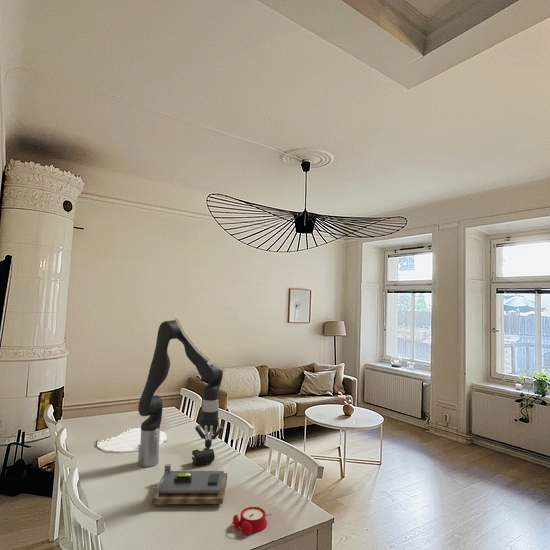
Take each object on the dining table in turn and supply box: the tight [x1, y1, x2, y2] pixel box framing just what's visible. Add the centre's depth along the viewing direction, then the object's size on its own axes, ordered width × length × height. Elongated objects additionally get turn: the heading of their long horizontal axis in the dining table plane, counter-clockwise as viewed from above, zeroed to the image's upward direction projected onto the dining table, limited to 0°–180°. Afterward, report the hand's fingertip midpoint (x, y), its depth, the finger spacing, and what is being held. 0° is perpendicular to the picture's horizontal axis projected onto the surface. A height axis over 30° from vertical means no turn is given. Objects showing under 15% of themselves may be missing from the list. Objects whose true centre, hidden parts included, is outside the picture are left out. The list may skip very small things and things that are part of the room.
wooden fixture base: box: [150, 463, 228, 507], centre depth 162 cm, size 28×23×8 cm
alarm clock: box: [230, 506, 272, 536], centre depth 139 cm, size 10×6×15 cm
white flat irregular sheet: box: [96, 427, 168, 454], centre depth 223 cm, size 40×39×3 cm
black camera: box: [191, 447, 215, 467], centre depth 193 cm, size 10×7×7 cm
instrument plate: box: [156, 470, 225, 493], centre depth 162 cm, size 26×18×4 cm
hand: (208, 447), depth 171 cm, fingers closed
